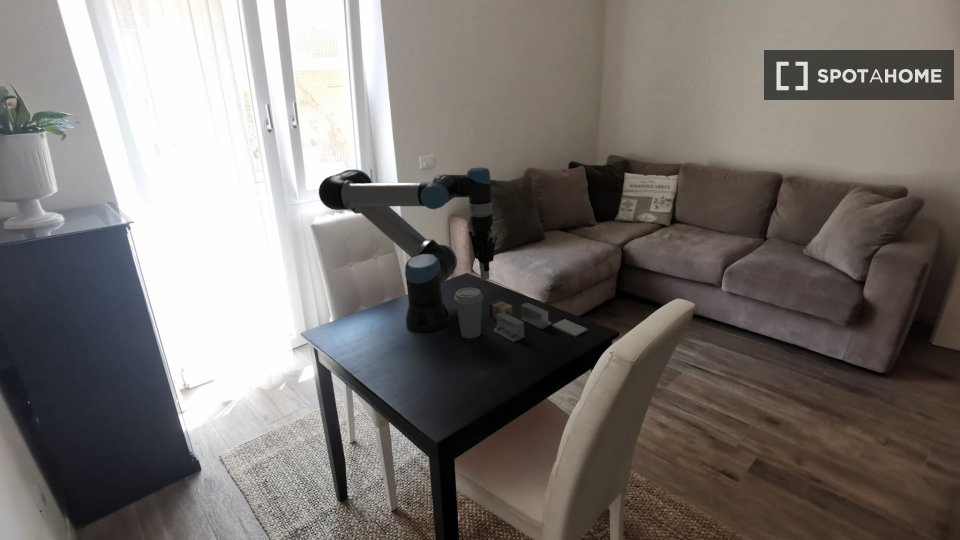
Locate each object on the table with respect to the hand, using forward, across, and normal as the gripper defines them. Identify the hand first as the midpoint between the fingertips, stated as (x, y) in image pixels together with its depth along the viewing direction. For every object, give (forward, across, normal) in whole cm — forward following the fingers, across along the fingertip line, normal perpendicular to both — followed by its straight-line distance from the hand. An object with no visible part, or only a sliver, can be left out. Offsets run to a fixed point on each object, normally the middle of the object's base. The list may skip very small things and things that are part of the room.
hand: (485, 278), depth 175 cm
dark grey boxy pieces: (+12, +19, 0) cm, 23 cm away
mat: (+13, +30, +11) cm, 34 cm away
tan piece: (+12, +8, 0) cm, 15 cm away
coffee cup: (+13, +10, -15) cm, 22 cm away
